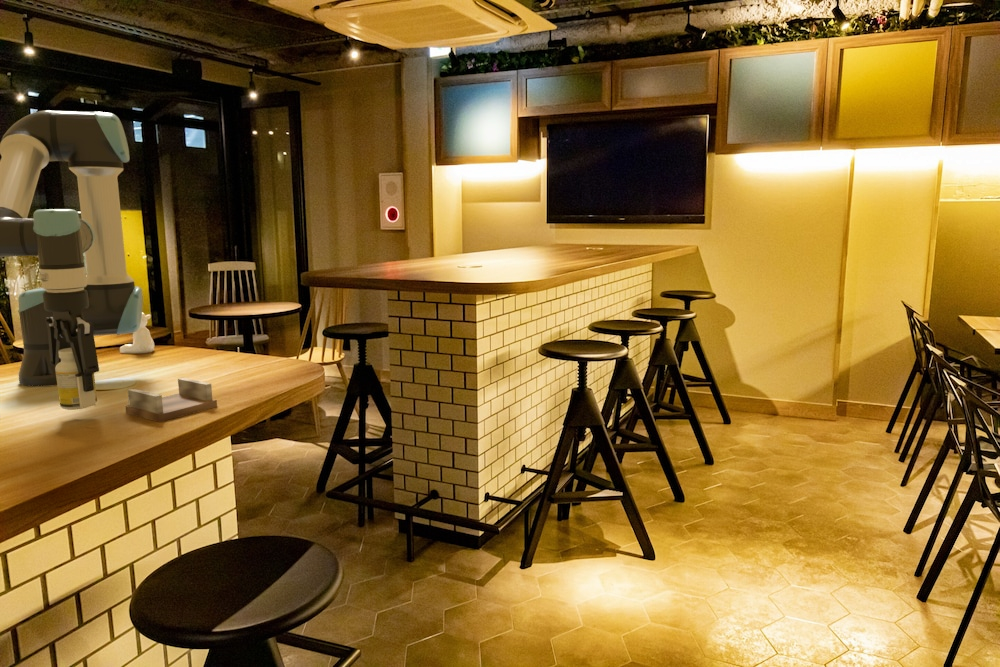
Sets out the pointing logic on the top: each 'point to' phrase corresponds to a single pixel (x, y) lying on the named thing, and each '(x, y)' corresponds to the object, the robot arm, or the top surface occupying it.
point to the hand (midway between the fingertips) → (78, 403)
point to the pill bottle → (68, 380)
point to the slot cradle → (171, 401)
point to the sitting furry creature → (140, 339)
